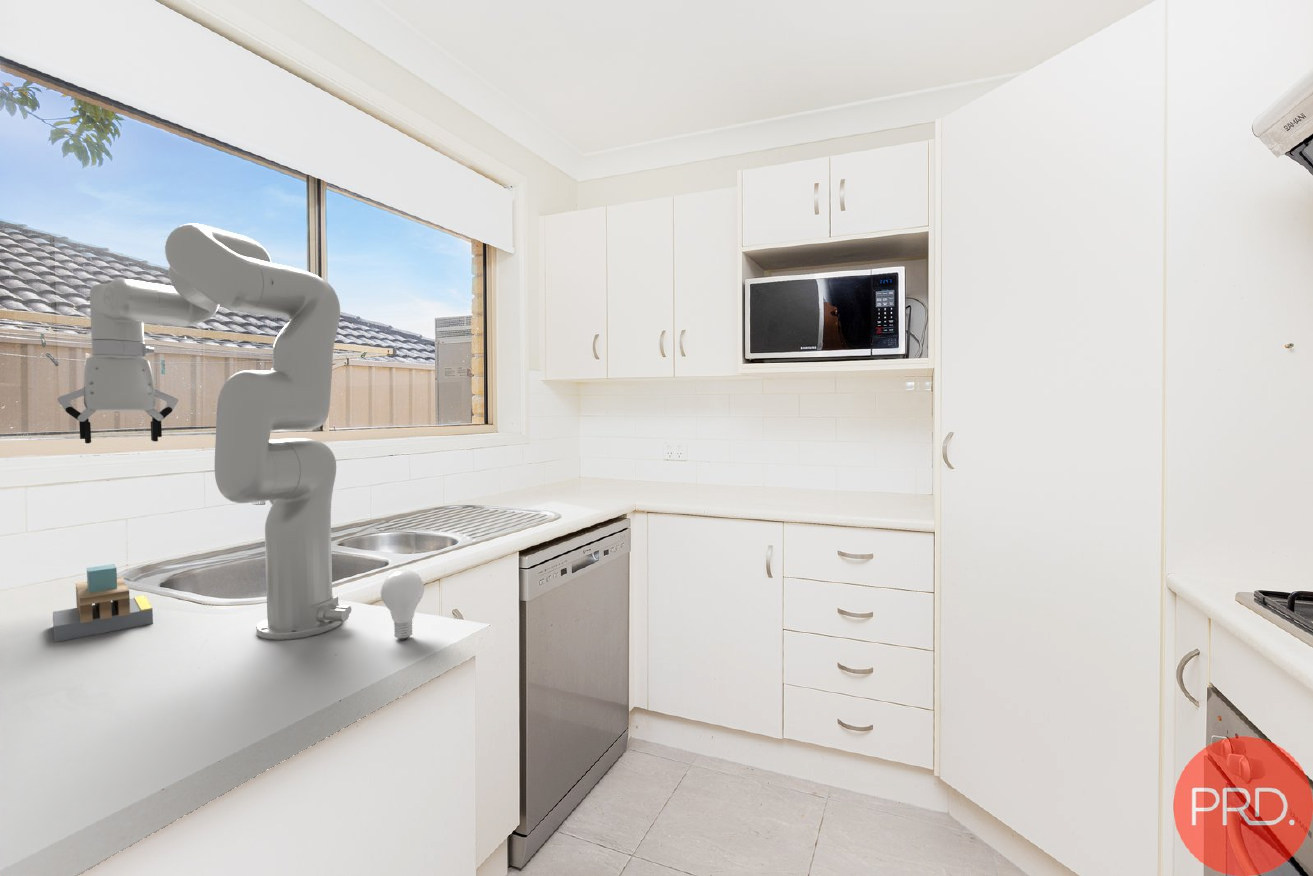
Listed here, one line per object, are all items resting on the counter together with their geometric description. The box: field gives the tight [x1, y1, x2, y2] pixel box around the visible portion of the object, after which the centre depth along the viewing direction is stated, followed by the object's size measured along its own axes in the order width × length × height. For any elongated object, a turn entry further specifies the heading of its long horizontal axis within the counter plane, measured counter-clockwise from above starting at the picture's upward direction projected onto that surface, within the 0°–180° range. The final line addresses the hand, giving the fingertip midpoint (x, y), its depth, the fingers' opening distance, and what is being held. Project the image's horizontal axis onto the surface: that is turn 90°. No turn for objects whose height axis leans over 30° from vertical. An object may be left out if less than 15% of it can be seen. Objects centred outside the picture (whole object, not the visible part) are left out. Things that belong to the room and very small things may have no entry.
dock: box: [52, 595, 154, 643], centre depth 105 cm, size 10×12×3 cm
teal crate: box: [86, 564, 118, 593], centre depth 104 cm, size 4×4×4 cm
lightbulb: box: [380, 569, 425, 640], centre depth 98 cm, size 6×6×11 cm
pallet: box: [75, 576, 131, 623], centre depth 105 cm, size 12×6×4 cm, turn 45°
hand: (122, 442), depth 118 cm, fingers open, 9 cm apart
